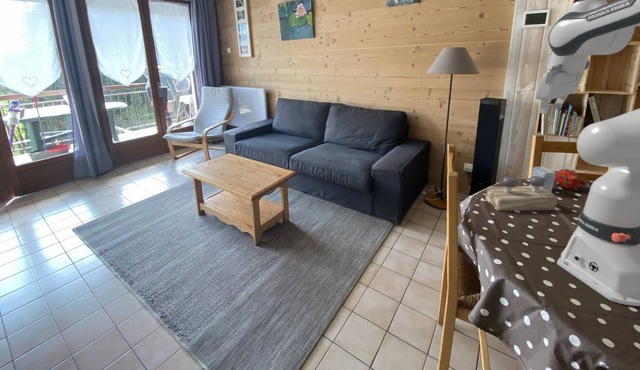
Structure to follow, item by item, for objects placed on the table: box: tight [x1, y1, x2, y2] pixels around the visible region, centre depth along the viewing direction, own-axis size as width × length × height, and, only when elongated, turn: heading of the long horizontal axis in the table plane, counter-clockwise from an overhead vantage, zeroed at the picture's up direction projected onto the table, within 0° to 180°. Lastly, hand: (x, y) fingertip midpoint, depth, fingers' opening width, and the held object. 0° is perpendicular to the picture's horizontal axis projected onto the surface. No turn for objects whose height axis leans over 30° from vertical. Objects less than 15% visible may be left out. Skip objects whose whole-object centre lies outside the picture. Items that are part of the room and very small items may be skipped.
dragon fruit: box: [554, 168, 588, 192], centre depth 130 cm, size 8×8×12 cm
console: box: [484, 185, 559, 212], centre depth 118 cm, size 10×20×5 cm, turn 90°
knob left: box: [501, 176, 518, 193], centre depth 117 cm, size 4×4×7 cm
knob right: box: [529, 176, 546, 193], centre depth 116 cm, size 4×4×7 cm
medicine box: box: [528, 166, 557, 193], centre depth 129 cm, size 8×4×9 cm, turn 179°
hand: (549, 111), depth 99 cm, fingers open, 8 cm apart
